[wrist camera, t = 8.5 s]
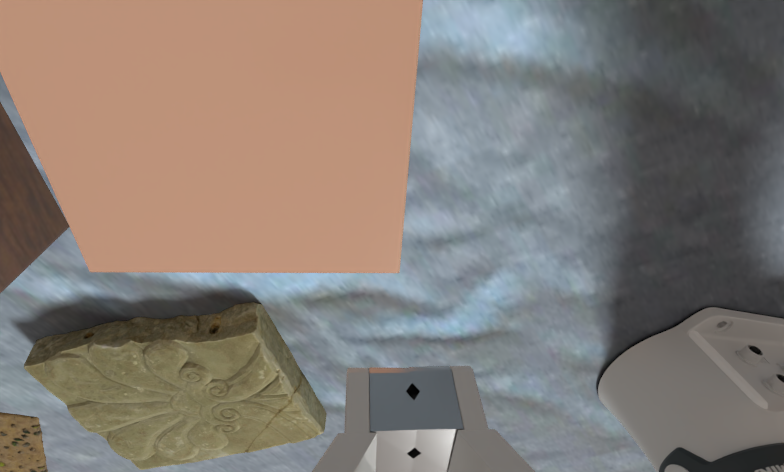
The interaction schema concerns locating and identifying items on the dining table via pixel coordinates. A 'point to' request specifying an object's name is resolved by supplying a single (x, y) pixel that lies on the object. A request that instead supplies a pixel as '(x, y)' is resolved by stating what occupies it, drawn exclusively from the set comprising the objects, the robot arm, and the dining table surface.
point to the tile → (221, 128)
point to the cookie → (21, 444)
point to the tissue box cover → (23, 207)
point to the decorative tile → (182, 385)
